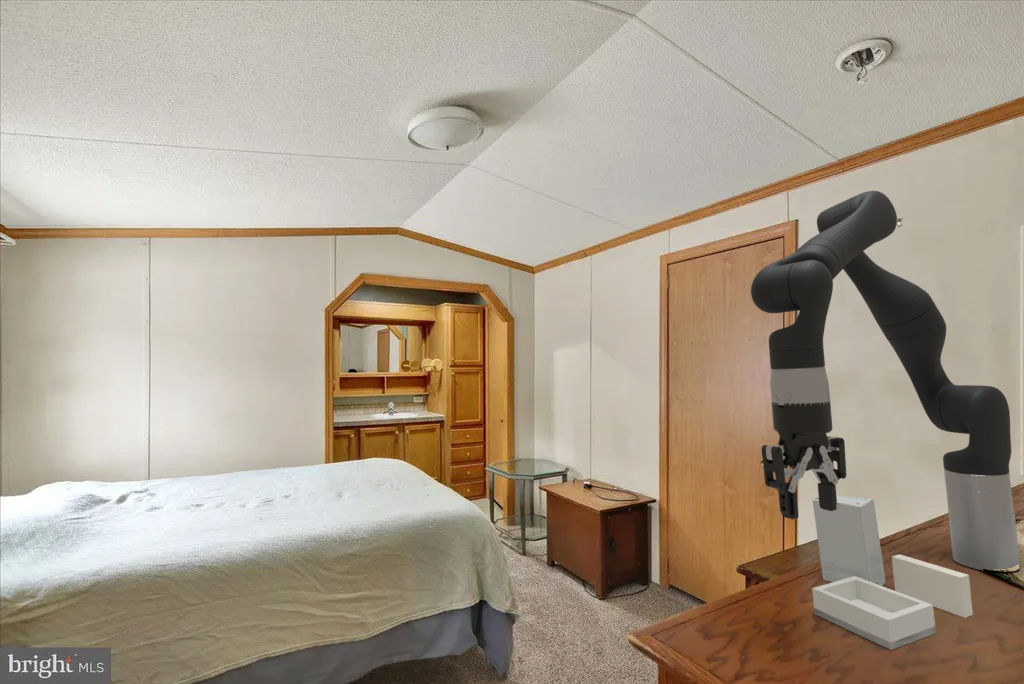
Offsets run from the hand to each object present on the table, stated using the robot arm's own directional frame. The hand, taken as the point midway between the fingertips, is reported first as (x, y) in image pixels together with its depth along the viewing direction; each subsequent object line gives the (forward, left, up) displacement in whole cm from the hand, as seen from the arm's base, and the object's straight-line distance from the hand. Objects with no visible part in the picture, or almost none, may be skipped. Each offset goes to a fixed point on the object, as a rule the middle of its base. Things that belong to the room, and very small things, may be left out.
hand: (809, 513), depth 74 cm
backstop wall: (-25, 0, -18) cm, 31 cm away
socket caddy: (-11, 0, -18) cm, 21 cm away
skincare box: (-22, -11, -18) cm, 31 cm away
